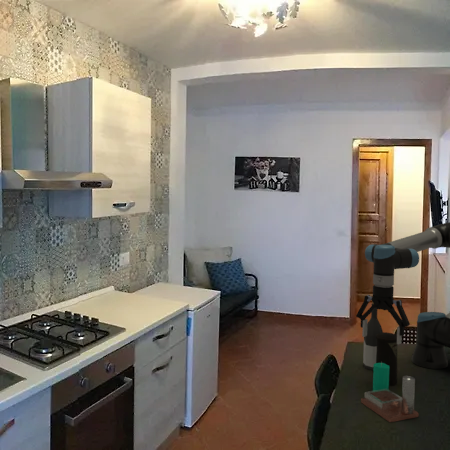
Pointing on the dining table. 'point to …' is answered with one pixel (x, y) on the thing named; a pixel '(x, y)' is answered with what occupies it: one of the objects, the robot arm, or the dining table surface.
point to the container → (388, 354)
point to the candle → (380, 376)
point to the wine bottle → (371, 341)
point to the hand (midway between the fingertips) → (381, 339)
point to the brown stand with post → (393, 401)
